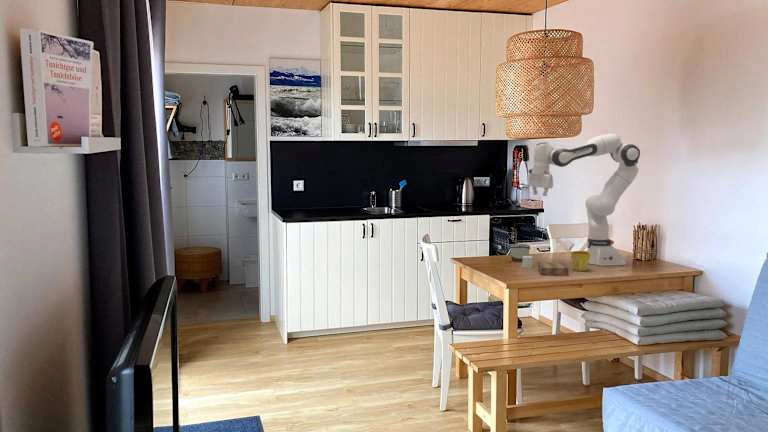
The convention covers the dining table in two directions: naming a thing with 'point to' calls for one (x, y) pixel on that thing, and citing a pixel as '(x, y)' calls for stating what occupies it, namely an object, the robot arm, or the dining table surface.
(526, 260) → the sage block
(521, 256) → the food container
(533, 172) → the robot arm
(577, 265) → the plant pot
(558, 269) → the walnut base
